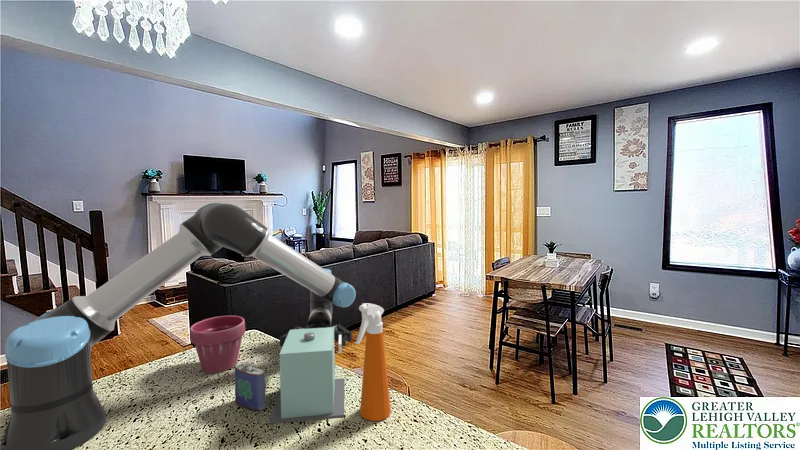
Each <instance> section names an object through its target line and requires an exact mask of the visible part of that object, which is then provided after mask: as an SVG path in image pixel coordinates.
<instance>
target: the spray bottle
mask: <svg viewBox="0 0 800 450" xmlns="http://www.w3.org/2000/svg"><path fill="white" fill-rule="evenodd" d="M358 310H359V311H360V312H361V324H360V328H359V331H358V335H357V338H356V341H355V344H356V345H359V344H360V343H361V342H362V339H363V338H364V336H365V350H364V361H363V372H362V373H363V374H362V382H361V383H362V384H361V397H360V407H359V414H360V416H361V417H362V418H363V419H365V420H366V421H369V422H370V421H371V422H380V421H383V420H385V419H386V418H388V417H389V416H390V414H391V412H392V409H391V399H390V398H391V397H390V388H389V380H388V378H389V377H388V371H387V370H388V369H387V368H388V367H387V359H386V349H385V340H384V330H383V327H384V326H383V325H384V323H383V321H382V315H383V314H384V312H385V309H384V308H383V306H380V305H377V304H376V303H375V304H374V303H369V302H368V303H367V302H365V303H364V302H362V303H361V305H359V307H358ZM365 333H366V335H365Z"/></svg>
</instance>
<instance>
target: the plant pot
mask: <svg viewBox="0 0 800 450" xmlns="http://www.w3.org/2000/svg"><path fill="white" fill-rule="evenodd" d="M245 333H246V322H245V318H244V317H242V316H239V315H221V316H220V315H219V316H213V317H210V318H209V317H208V318H205V319H202V320H201V321H197V322H195V323H194V324H192V325H191V326H190V328H189V337H190V338H189V339H190V343H191V344H193V345H194V347H195V350H196V353H197V357H198V359H199V362H200V366H201V369H202V371H203V372H204V373H206V374H215V373H221V372H225V371H227V370H228V371H229V370H231V369H232V368H235V366H236V365H237V364H238V360H239V354H240V350H241V349H240V348H241V344H242V339H243V336H244V334H245Z"/></svg>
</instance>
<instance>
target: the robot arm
mask: <svg viewBox="0 0 800 450" xmlns="http://www.w3.org/2000/svg"><path fill="white" fill-rule="evenodd" d="M178 228H179V229H178V232H177V233H176V234H175V235H173V236H172V237H170V238H169V239H167V240H166V241H165V242H163V243H162V244H160V245H159V246H156V248H154V249H153V250H151V251H150V252H148V253H147V254H145V255H143V257H141V258H140V259H139V260H137V261H136V262H134V263H133V264H131V265H130V266H128V267H127V268H125V269H124V270H122V271H121V272H120V273H118V274H117V275H115V276H114V277H112V278H110V279H109V280H108V281H107V282H105V283H104V284H103V285H101V286H99V287H98V288H96V290H94V291H92V292H91V293H89V294H88V295H81V296H79V295H76V296H73V297H72V298H70V299H69V300H67V301H65V302H64V303H63V304H61V305H60V306H59V307H56V308H54V309H52V310H50V311H48V312H45V313H43V314H42V315H40V316H39V317H38V318H36V319H35V320H34V321H32V322H29V323H27V325H22V326H20V327H18V328H17V329H14V330H13V331H12V332H11V333H10V334H9V335H8V337H7V338H6V340H5V341H6V342H5V349H4V356H5V360H6V363H7V364H6V367H7V376H8V388H9V389H8V390H9V400H10V402H9V403H10V411H11V413H10V416H9V418H8V422H7V425H6V428H5V430H4V433H3V437H2V439H1V442H0V450H73V449H74V448H76V447H78V446H80V445H83V444H84V443H86V442H87V441H89V440H91V439H92V438H93V437H94V436H96V435H97V434H98V433H100V431H101V430H102V429H103V428H104V426H105V425H106V422H107V417H106V416H107V415H106V409H105V407H104V405H102V403H101V400H100V399H99V397H98V396H97V393H96V392H95V389H94V388H93V387H94V386H93V385H94V384H93V369H92V348H93V346H94V345H96V344H97V343H98V342H99V341H101V340H102V339H104V338H105V337H107V335H108V334H110V333H112V331H115V326H116V322H117V320H118V319H119V318H121V317H122V316H123V315H125V314H126V313H127V312H129V311H130V310H131V309H133V308H134V307H135V306H137V305H138V304H140V303H141V302H142V301H143V300H145V299H146V298H147V297H148V296H150V295H152V294H153V293H154V292H155V291H157V290H158V289H159V288H161V287H163V285H164V284H166V283H168V281H170V280H171V279H173V278H174V277H175V276H177V275H178V274H180V273H181V272H182V271H183V270H184V269H186V268H187V267H189V266H190V265H192V263H194V262H195V261H197V260H198V259H199V258H200V257H211V256H212V255H214V254H215V253H217V251H219V250H221V249H222V248H226V249H229V250H231V251H234V252H236V253H238V254H240V255H241V256H243V257H245V258H249V257H253V258H255V259H257V260H258V261H259V262H262V263H263V264H265V265H266V266H269V267H270V268H271V269H273V270H275V271H276V272H279V273H280V274H282V275H284V276H285V277H287V278H288V279H290V280H292V281H294V282H295V283H297V284H299V285H301V286H302V287H304V288H306V289H308V290H309V291H310V292H309V293H310V294H309V295H310V300H309V301H310V302H309V303H310V304H309V305H310V307H309V308H310V309H309V311H310V312H309V317H308V320H307V323H306V326H304V327H300V325H296V326H295V327H294V328H292V329H291V330H294V329H311V328H327V327H334V341H337V342H338V355H339V354H342V352H343V351H342V347H345V346H347V344H346V343H347V342H350V343H351V342H352V341H353V334H352V331H350V330H348V329H347V328H346V327H344V326H342V324H341V323H340V322H339V323H336V324H335V325H332V318H333V312H334V311H333V308H334V307H333V305H335V306H336V307H340V308H348V307H350V306H351V305H353V303H354V301H355V300H356V296H357V295H356V294H357V293H356V289H355V287H354V286H353V285H352V284H350V283H348V282H344V281H343V280H341V279H340V278H338V277H336V276H335V275H333V274H332V270H331V269H329V268H323V267H321V266H320V265H318V264H317V263H315V262H314V261H312V260H311V259H309V258H307V257H306V256H304V255H303V254H301V253H300V252H299V251H297V250H295V249H294V248H292V247H290V246H289V245H287V244H286V243H284V242H283V241H281V240H280V239H278V238H277V237H275V236H274V235H272V234H271V233H270V232H269V228H268V227H267V226H265V225H264V224H262V223H261V222H260V221H258V220H257V219H255V217H253V216H252V215H250V214H249V213H248V212H246V211H245V210H244V209H243V208H241V207H239V206H238V205H235V204H232V203H222V202H212V203H208V204H205V205H203V206H202V207H200V208H198V210H197V211H196V212H195V213H194V214H192V216H191V217H189V218H188V219H185V221H184V222H182V223H180V224H179V227H178ZM288 333H289V331H288V332H286V333H284V334H282V335H280V336H279V346H280V347H283V345H284V342H285V340H286V338H287V335H288Z"/></svg>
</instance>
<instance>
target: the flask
mask: <svg viewBox="0 0 800 450" xmlns="http://www.w3.org/2000/svg"><path fill="white" fill-rule="evenodd" d="M253 363H254V362H253V361H252V360H250V361H248V360H247V361H245V362H244V361H243V362H242V363H241V362H240V363H237V364H236V365H235V366H234V395H235V396H234V397H235V398H234V401H235V402H234V403H235V404H236V406H238V407H240V408H243V409H245V410H249V411H251V412H258V413H259V412H263V411H264V410H265V409H266V407H267V401H266V400H267V399H266V397H267V396H266V371H265V370H264V369H260V368H255V367H252V366H253V365H252V364H253Z"/></svg>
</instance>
